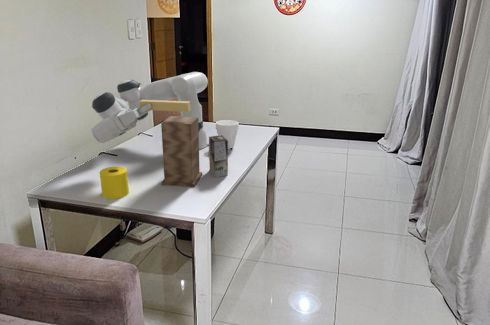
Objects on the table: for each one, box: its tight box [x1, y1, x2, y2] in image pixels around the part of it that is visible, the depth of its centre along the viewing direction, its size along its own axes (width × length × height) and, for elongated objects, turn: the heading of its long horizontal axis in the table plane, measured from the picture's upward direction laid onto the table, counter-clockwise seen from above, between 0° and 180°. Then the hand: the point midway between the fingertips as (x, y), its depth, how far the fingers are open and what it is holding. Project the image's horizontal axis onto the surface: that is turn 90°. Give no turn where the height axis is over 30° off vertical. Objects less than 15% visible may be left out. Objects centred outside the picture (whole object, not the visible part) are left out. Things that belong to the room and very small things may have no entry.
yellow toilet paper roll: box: [99, 166, 130, 200], centre depth 156 cm, size 10×10×9 cm
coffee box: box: [208, 135, 229, 178], centre depth 177 cm, size 9×6×16 cm
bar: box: [139, 100, 191, 113], centre depth 162 cm, size 20×4×4 cm, turn 83°
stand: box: [160, 115, 203, 188], centre depth 168 cm, size 14×14×26 cm
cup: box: [215, 119, 240, 150], centre depth 214 cm, size 12×12×14 cm
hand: (153, 103), depth 162 cm, fingers closed on bar, 3 cm apart
